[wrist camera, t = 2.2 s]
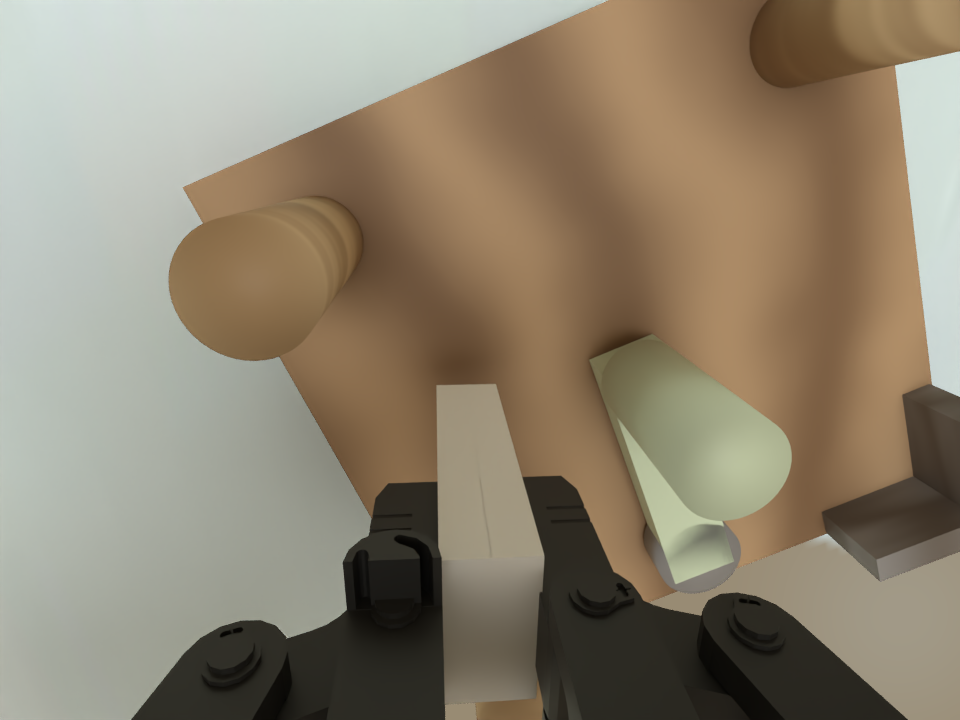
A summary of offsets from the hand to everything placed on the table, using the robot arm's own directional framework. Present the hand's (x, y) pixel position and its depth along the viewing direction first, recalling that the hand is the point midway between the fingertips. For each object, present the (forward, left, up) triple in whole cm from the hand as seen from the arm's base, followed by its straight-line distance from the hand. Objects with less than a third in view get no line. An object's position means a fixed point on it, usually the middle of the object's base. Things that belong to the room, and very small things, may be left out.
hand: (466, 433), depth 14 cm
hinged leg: (+6, -7, -5) cm, 10 cm away
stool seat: (+6, -2, -8) cm, 10 cm away
